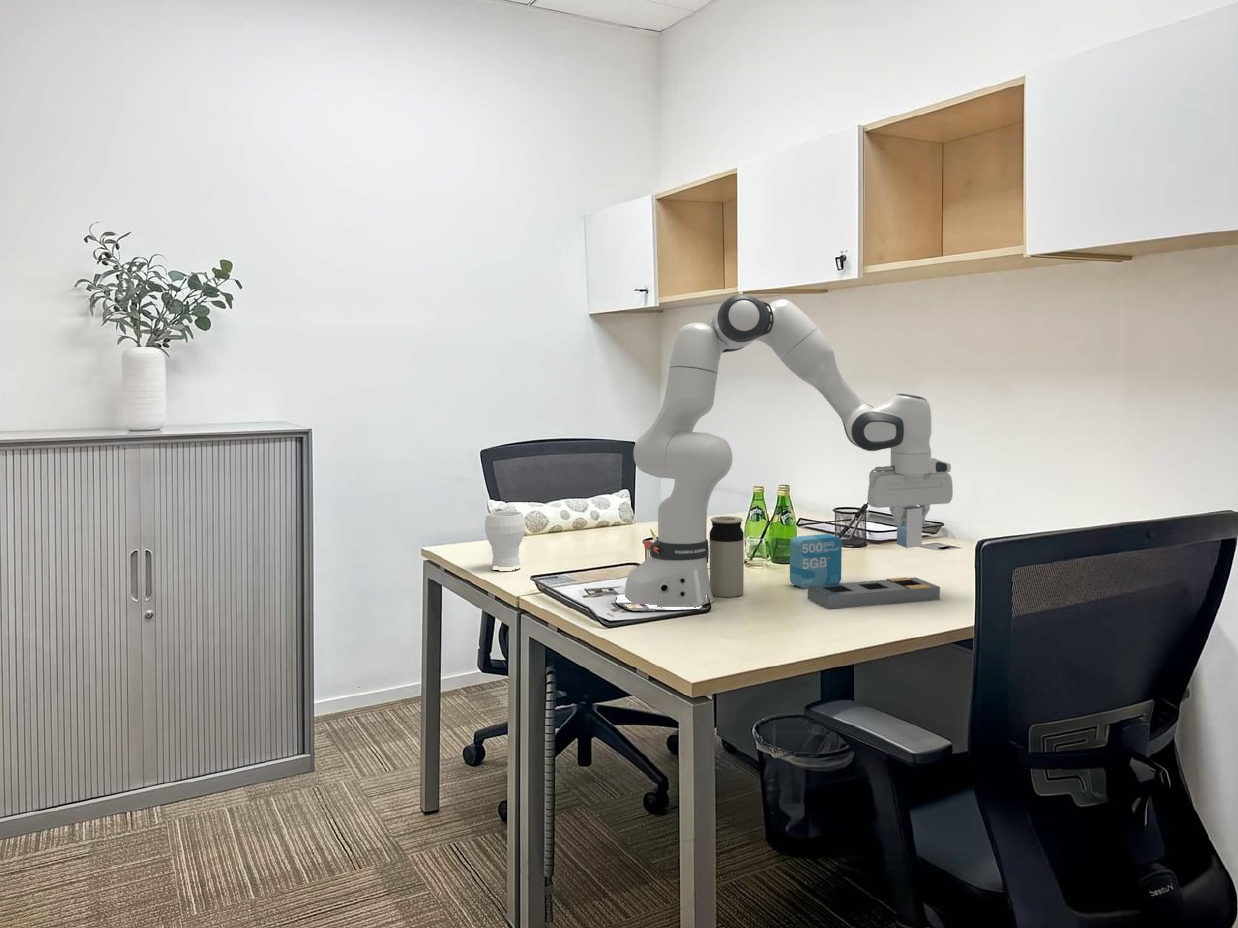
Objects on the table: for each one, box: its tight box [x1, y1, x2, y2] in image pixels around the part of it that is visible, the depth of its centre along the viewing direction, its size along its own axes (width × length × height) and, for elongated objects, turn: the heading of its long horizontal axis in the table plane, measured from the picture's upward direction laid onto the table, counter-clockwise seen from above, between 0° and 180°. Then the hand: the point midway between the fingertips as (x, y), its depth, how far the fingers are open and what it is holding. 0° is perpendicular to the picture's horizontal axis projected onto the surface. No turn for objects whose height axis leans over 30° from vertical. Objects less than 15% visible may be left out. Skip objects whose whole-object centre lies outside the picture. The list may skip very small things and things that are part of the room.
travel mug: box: [709, 515, 745, 598], centre depth 223 cm, size 8×8×18 cm
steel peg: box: [896, 505, 923, 549], centre depth 218 cm, size 4×4×9 cm
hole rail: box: [807, 576, 941, 610], centre depth 217 cm, size 28×10×3 cm, turn 105°
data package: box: [789, 533, 843, 589], centre depth 231 cm, size 12×4×12 cm, turn 110°
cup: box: [484, 510, 526, 567], centre depth 254 cm, size 11×11×15 cm
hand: (909, 524), depth 218 cm, fingers closed on steel peg, 4 cm apart
